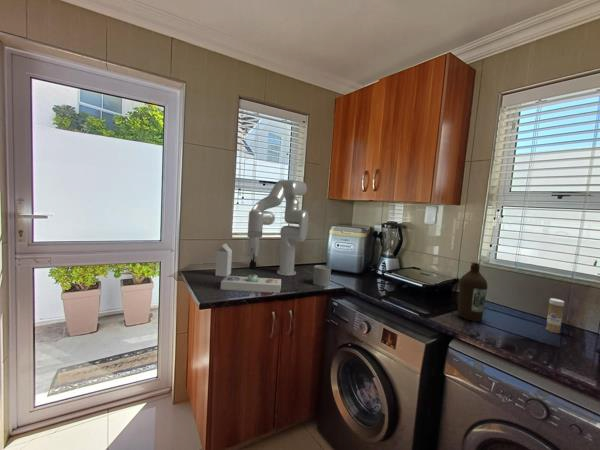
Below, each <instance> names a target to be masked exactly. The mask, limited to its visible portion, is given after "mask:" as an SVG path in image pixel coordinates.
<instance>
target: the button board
mask: <svg viewBox="0 0 600 450" xmlns="http://www.w3.org/2000/svg"><path fill="white" fill-rule="evenodd" d="M229 277H238V281H230V280H229ZM268 279H272V278H271V277H270V278H268V277H257V282H248V276H240V275H239V276H237V275H235V276H234V275H229V276H226V277H225V276H224V278H223V279H222V280H221V282H220V290H225V291H227V290H228V291H239V292H240V291H242V292H255V293H256V292H257V293H270V294H271V293H272V292H273V294H280V292H281V287H282V279H281V278H273V279H274V280H276V283H267V280H268Z"/></svg>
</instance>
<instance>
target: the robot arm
mask: <svg viewBox="0 0 600 450" xmlns="http://www.w3.org/2000/svg"><path fill="white" fill-rule="evenodd" d="M307 189H308V187H307V185H306V182H304V181H299V180H294V179H293V180H292V179H291V180H290V179H289V180H288V179H281V180H278V181H276V183H275V184H274V186H273V187H272V189H271V190H270V193H268V195H267V196H266V197H264V198H261V199H260V200H259V201H257V202H256V203H255V204H254V205H253V207H252V208H251V210H250V211H249V212H248V224H247V225H248V226H247V238H248V242H247V249H246V250H247V252H246V257H249V266H248V267H249V270H256V269H257V257H258V255H259V251H260V239H262V238H263V229H264V228H263V225H264V226H270V225H273V223H274V222H275V220H276V219H275V218H276V217H275V214H274V213H273V212H272V211H267V210H269V209H273V208H277V207H278V206H280V205H281V204H282V202H283V200H284V199H285V206H284V207H285V210H284V217H283V218H284V222H285V223H286V224H292V225H283V226H282V227H281V228H280V232H279V233H280V257H279V269H278V270H277V271H276V274H278V275H281V276H289V277H290V276H295V275H296V274H297V272H296V270H295V259H296V245H295V243H294V242H300V243H301V242H305V241H306V240H307V236H308V227H309V220H310V218H309V213H308V211H306V210H305V209H299V205H300V201H299V199H298V197H297V196H301V197H302V196H304V195H305V194H306V193H307ZM295 225H296V226H295ZM297 225H298V226H297Z"/></svg>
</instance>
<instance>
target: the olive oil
mask: <svg viewBox="0 0 600 450" xmlns="http://www.w3.org/2000/svg"><path fill="white" fill-rule="evenodd" d="M480 264H481V263H479V262H476V261H475V262H474V261H473V262H471V264H470V270H469V271H467V272H466V273H465V274H463V275H462V276H461V278H460V280H459V291H458V306H457V307H458V308H457V316H458V315H459V316H460V318H461V317H463V318H465V319H464V320H466V319H468V320H467V321H470V320H472V322H482V321H481V320H483V316H484V312H485V305H486V304H485V303H486V298H487V292H488V281H487V280H486V279H485V277H484V276H483V275H482V273H480V269H481V267H480ZM459 316H458V317H459ZM463 318H462V319H463Z"/></svg>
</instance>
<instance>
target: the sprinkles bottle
mask: <svg viewBox="0 0 600 450" xmlns="http://www.w3.org/2000/svg"><path fill="white" fill-rule="evenodd" d="M548 303H549V306H548V313H547V316H546V317H547V318H546V327H545V330H546V331H548V332H550V333H554V334H561V326H562V322H563V321H562V320H563V311H564V306H565V301H564V300H562V299H559V298H554V297H551V298H549V302H548Z"/></svg>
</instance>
